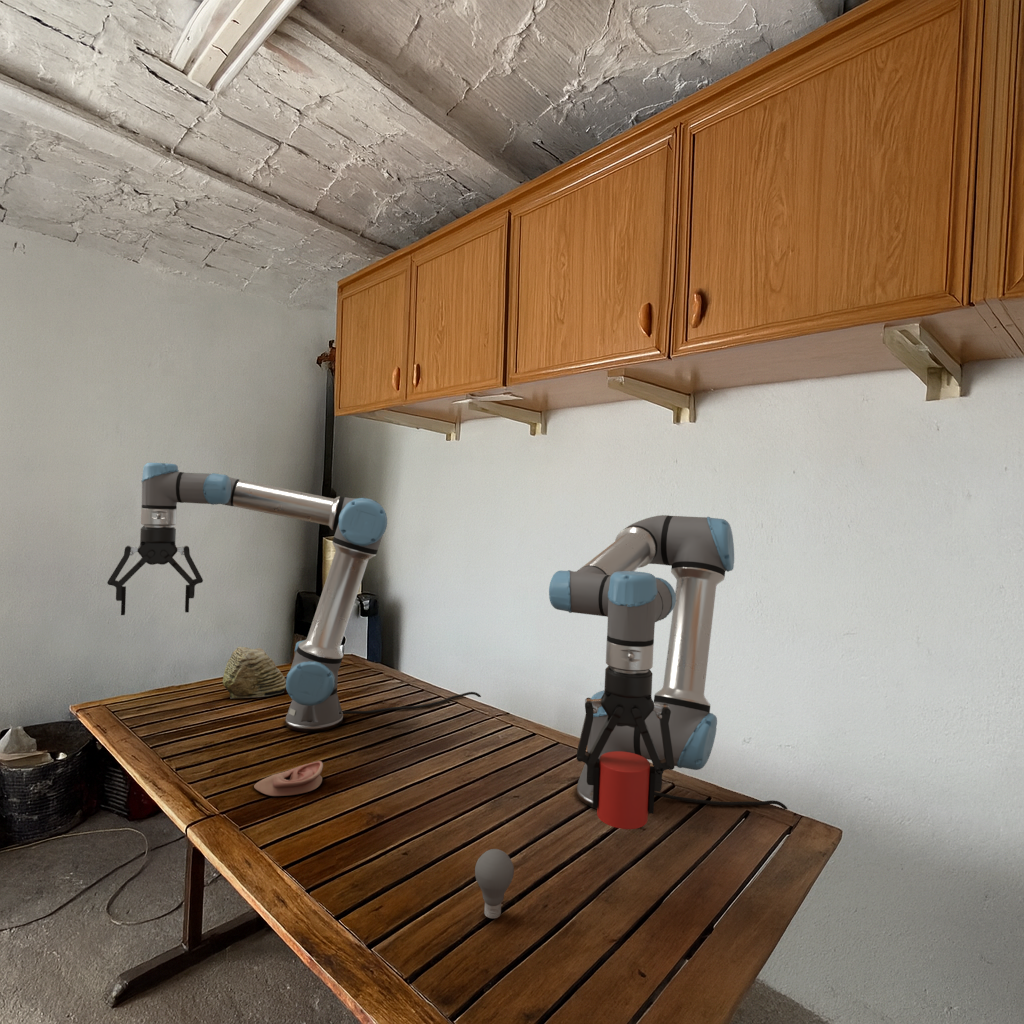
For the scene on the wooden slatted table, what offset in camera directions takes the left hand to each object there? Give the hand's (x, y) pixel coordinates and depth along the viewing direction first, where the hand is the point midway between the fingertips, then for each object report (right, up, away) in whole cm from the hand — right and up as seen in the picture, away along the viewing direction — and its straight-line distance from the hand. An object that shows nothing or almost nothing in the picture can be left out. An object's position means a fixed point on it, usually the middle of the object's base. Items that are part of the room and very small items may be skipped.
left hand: (155, 613), depth 155 cm
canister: (+105, -25, -52) cm, 120 cm away
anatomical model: (+39, -35, -17) cm, 55 cm away
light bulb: (+84, -38, -57) cm, 109 cm away
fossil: (+7, -33, +43) cm, 54 cm away
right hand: (+105, -23, -52) cm, 120 cm away
